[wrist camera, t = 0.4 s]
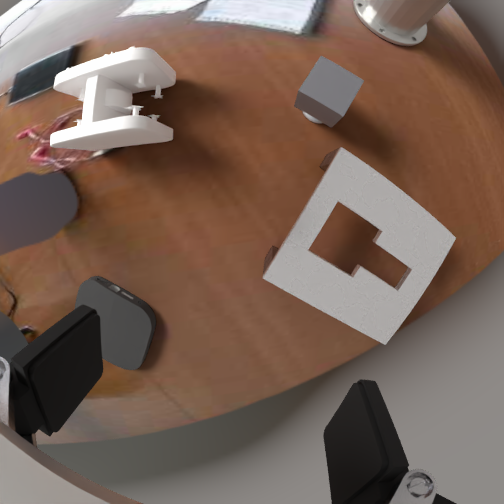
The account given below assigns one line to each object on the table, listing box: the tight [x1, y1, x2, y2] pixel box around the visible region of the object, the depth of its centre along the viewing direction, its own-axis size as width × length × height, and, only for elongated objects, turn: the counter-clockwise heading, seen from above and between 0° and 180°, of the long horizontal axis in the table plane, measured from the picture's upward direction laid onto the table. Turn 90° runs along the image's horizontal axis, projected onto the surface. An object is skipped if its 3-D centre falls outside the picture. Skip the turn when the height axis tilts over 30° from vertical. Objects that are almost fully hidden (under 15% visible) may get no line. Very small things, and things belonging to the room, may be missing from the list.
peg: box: [294, 56, 364, 128], centre depth 27 cm, size 5×5×10 cm
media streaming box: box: [75, 276, 156, 370], centre depth 41 cm, size 15×15×3 cm
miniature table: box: [263, 147, 456, 344], centre depth 32 cm, size 16×18×8 cm
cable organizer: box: [50, 47, 176, 150], centre depth 28 cm, size 15×11×12 cm
